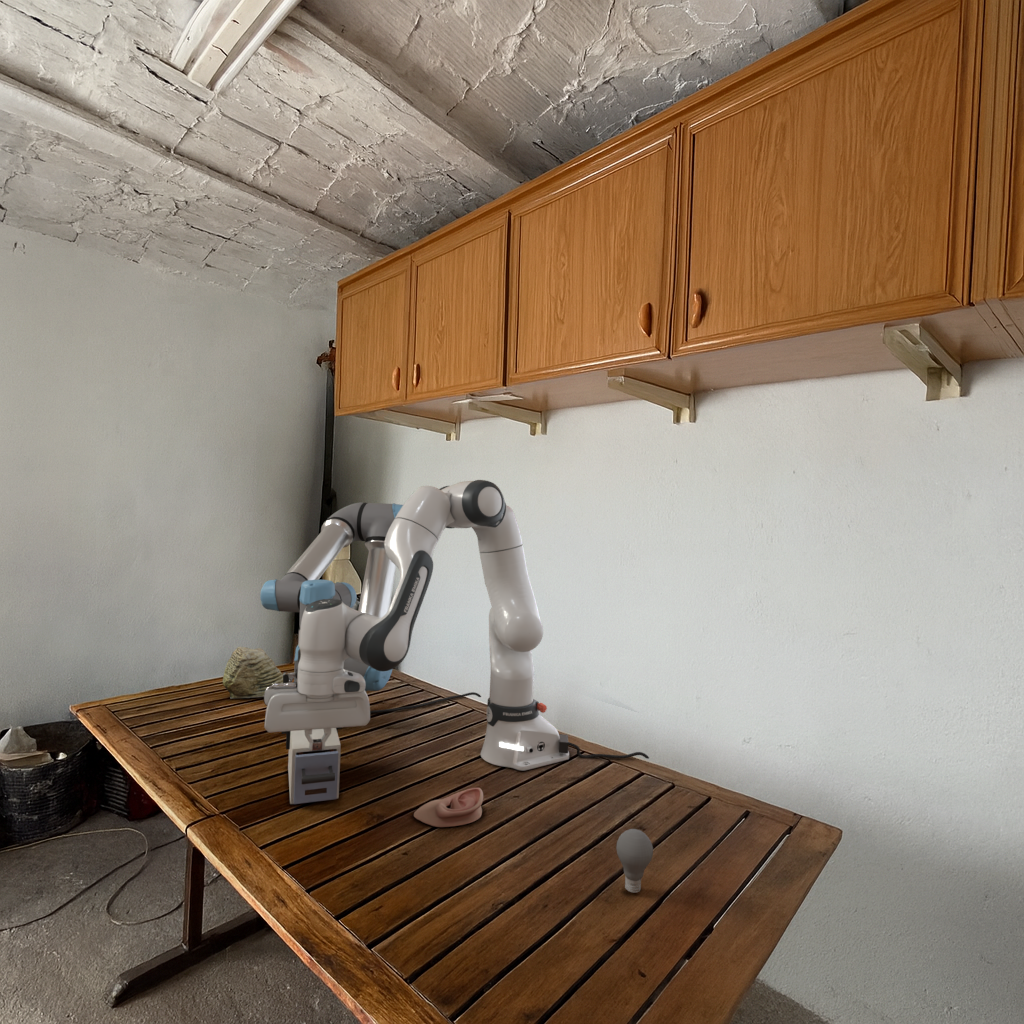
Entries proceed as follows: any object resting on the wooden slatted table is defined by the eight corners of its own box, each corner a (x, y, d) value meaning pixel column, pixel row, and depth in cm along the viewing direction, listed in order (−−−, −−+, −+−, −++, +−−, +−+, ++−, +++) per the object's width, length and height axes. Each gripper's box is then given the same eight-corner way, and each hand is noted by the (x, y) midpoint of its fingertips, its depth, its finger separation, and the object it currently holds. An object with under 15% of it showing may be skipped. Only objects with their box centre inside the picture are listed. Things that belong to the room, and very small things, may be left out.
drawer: (339, 811, 126) (341, 763, 126) (294, 817, 123) (296, 768, 123) (329, 764, 148) (331, 723, 147) (291, 768, 145) (292, 727, 144)
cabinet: (338, 798, 133) (340, 744, 133) (290, 804, 130) (292, 749, 130) (330, 762, 151) (332, 715, 151) (288, 767, 147) (289, 718, 147)
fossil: (218, 695, 195) (220, 647, 195) (278, 685, 208) (279, 640, 207) (228, 703, 189) (230, 653, 188) (289, 692, 201) (290, 645, 201)
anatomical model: (408, 802, 124) (427, 778, 135) (407, 822, 124) (427, 796, 136) (473, 812, 122) (488, 786, 133) (473, 832, 122) (487, 805, 133)
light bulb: (610, 879, 108) (613, 822, 108) (644, 879, 109) (647, 822, 109) (619, 902, 102) (622, 840, 102) (655, 901, 103) (658, 840, 103)
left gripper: (263, 654, 137) (259, 756, 138) (367, 649, 145) (363, 746, 146) (263, 646, 144) (259, 743, 145) (362, 642, 152) (359, 734, 153)
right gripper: (264, 688, 120) (260, 760, 120) (373, 683, 127) (369, 751, 128) (264, 679, 126) (261, 747, 126) (369, 674, 133) (365, 739, 134)
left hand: (311, 744), depth 145 cm, fingers closed on cabinet, 10 cm apart
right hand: (316, 749), depth 127 cm, fingers closed
